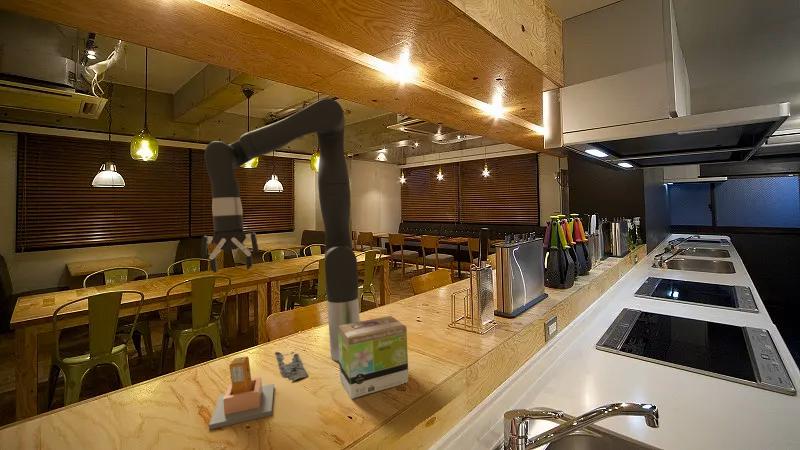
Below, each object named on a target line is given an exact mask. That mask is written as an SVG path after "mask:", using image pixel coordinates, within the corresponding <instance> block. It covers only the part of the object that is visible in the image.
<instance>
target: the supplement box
mask: <svg viewBox="0 0 800 450" xmlns="http://www.w3.org/2000/svg"><path fill="white" fill-rule="evenodd" d="M229 373H230V380H231V382H230V383H232V390H233V395H235V394H240V393H244V392H249V391H253V390H252V382H251V379H252V375H251V366H250V358H249V356H242V357H241V356H240V357H235V358H234V359H233V360H232V361H231V362H230V364H229Z"/></svg>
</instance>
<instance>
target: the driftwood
mask: <svg viewBox="0 0 800 450" xmlns="http://www.w3.org/2000/svg"><path fill="white" fill-rule="evenodd" d="M289 353H290V354H289ZM289 353H286V354H283V353H282V352H279V351H275V352H274V355H275V356H276V360H277V362H278V364H277V366H278V367H279V368H278V369H279V371H280V375H281V377H282V378H283V379H287V381H291V383H293V382H295V381H296V380H298V379H301V378H306V377H308V376H309V374H308V373H307V371H306V368H305V367H304V364H303V363H302V360H301V357H300V355H299V353H295V351H290V352H289ZM291 354H292V355H293V357H292V358H291V361H290V362H288V363H285V362H284V359H285V356H289V355H291Z"/></svg>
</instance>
